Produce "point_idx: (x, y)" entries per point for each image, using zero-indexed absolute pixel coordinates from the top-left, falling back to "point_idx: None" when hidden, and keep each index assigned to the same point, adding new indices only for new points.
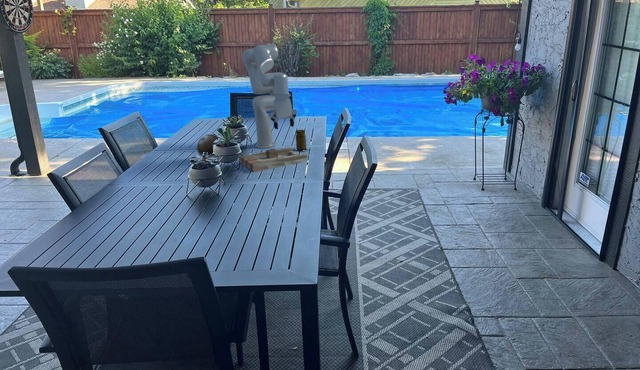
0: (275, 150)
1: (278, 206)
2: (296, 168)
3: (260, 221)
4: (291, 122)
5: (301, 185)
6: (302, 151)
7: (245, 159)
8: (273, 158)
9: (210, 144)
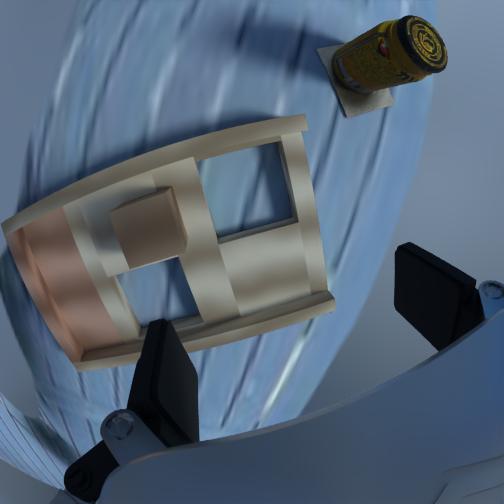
0: (170, 247)
1: None
2: (250, 365)
3: None
4: (426, 315)
5: None
6: (353, 109)
7: (28, 285)
8: None
9: None
